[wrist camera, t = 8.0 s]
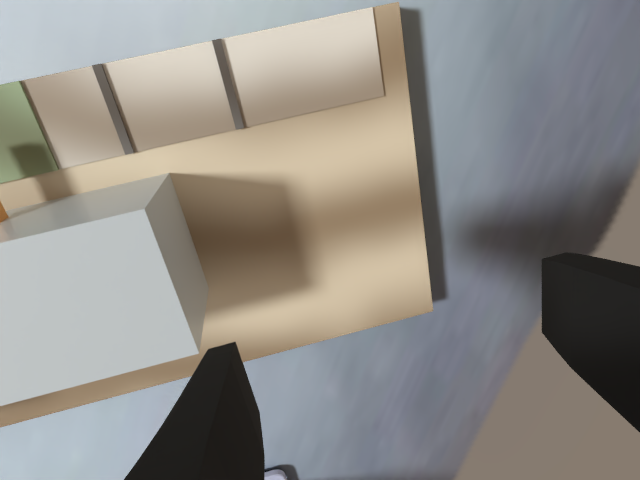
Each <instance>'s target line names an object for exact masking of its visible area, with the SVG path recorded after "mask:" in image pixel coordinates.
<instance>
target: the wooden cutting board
mask: <svg viewBox="0 0 640 480" xmlns="http://www.w3.org/2000/svg"><path fill="white" fill-rule="evenodd" d="M166 173H170V176H171V179H172V182H173V185H174V188H175V191H176V194H177V197H178V200H179V203H180V206H181V208H182V211H183V214H184V217H185V220H186V223H187V226H188V229H189V232H190V235H191V238H192V241H193V243H194V246H195V249H196V252H197V255H198V258H199V261H200V264H201V267H202V270H203V273H204V276H205V279H206V281H207V284H208V287H209V291H208V298H207V304H206V311H205V317H204V324H203V331H202V337H201V344H200V351H199V354H195V355H192V356H188V357H184V358H180V359H176V360H173V361H169V362H165V363H161V364H158V365H154V366H150V367H146V368H143V369H139V370H135V371H131V372H127V373H124V374H120V375H116V376H112V377H109V378H105V379H101V380H97V381H93V382H90V383H86V384H82V385H78V386H75V387H71V388H67V389H63V390H59V391H56V392H52V393H48V394H44V395H41V396H37V397H33V398H29V399H26V400H22V401H18V402H14V403H10V404H7V405H3V406H0V427H3V426H7V425H11V424H15V423H18V422H22V421H26V420H29V419H33V418H37V417H41V416H44V415H48V414H52V413H55V412H59V411H63V410H67V409H70V408H74V407H78V406H82V405H85V404H89V403H93V402H96V401H100V400H104V399H108V398H111V397H115V396H119V395H122V394H126V393H130V392H134V391H137V390H141V389H145V388H149V387H152V386H156V385H160V384H163V383H167V382H171V381H175V380H178V379H182V378H186V377H189V376H192V375H193V373H194V372H195V370H196V368H197V366H198V365H199V363H200V361H201V360H202V358H203V356H204V355H205V353H206V352H207V350H208V349H210V348H214V347H217V346H221V345H225V344H228V343H232V342H236V344H237V347H238V350H239V353H240V356H241V359H242V362H245V361H249V360H253V359H256V358H260V357H264V356H268V355H271V354H275V353H279V352H283V351H286V350H290V349H294V348H297V347H301V346H305V345H309V344H312V343H316V342H320V341H324V340H327V339H331V338H335V337H338V336H342V335H346V334H350V333H353V332H357V331H361V330H364V329H368V328H372V327H376V326H379V325H383V324H387V323H391V322H394V321H398V320H402V319H405V318H409V317H413V316H417V315H420V314H424V313H428V312H431V311H433V305H432V296H431V287H430V278H429V269H428V260H427V251H426V242H425V233H424V224H423V215H422V206H421V197H420V188H419V179H418V170H417V161H416V152H415V143H414V134H413V125H412V116H411V107H410V98H409V89H408V80H407V71H406V62H405V53H404V44H403V34H402V25H401V16H400V7H399V2H396V3H391V4H386V5H381V6H376V7H371V8H366V9H361V10H356V11H352V12H347V13H342V14H337V15H333V16H328V17H323V18H318V19H314V20H309V21H304V22H299V23H294V24H290V25H285V26H280V27H275V28H271V29H266V30H261V31H256V32H251V33H247V34H242V35H237V36H232V37H228V38H223V39H217V40H212V41H209V42H204V43H199V44H194V45H189V46H185V47H180V48H175V49H170V50H166V51H161V52H156V53H151V54H147V55H142V56H137V57H132V58H127V59H123V60H118V61H113V62H108V63H104V64H98V65H93V66H89V67H84V68H80V69H75V70H70V71H65V72H61V73H56V74H51V75H46V76H42V77H37V78H32V79H27V80H22V81H16V82H12V83H7V84H2V85H0V201H1V203H2V205H3V207H4V209H5V211H7V210H11V209H15V208H20V207H24V206H28V205H32V204H37V203H41V202H45V201H50V200H54V199H58V198H63V197H67V196H71V195H76V194H80V193H84V192H89V191H93V190H97V189H102V188H106V187H110V186H115V185H119V184H123V183H128V182H132V181H136V180H140V179H145V178H149V177H153V176H158V175H162V174H166Z"/></svg>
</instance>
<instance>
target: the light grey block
mask: <svg viewBox="0 0 640 480" xmlns="http://www.w3.org/2000/svg"><path fill="white" fill-rule="evenodd" d="M208 291H209V287H208V284H207V281H206V279H205V276H204V273H203V270H202V267H201V264H200V261H199V258H198V255H197V252H196V249H195V246H194V243H193V241H192V238H191V235H190V232H189V229H188V226H187V223H186V220H185V217H184V214H183V211H182V208H181V206H180V203H179V200H178V197H177V194H176V191H175V188H174V185H173V182H172V179H171V176H170V173H166V174H162V175H158V176H153V177H149V178H145V179H140V180H136V181H132V182H128V183H123V184H119V185H115V186H110V187H106V188H102V189H97V190H93V191H89V192H84V193H80V194H76V195H71V196H67V197H63V198H58V199H54V200H50V201H45V202H41V203H37V204H32V205H28V206H24V207H20V208H15V209H11V210H7V211H5V209H4V207H3V205H2V203H1V201H0V406H3V405H7V404H10V403H14V402H18V401H22V400H26V399H29V398H33V397H37V396H41V395H44V394H48V393H52V392H56V391H59V390H63V389H67V388H71V387H75V386H78V385H82V384H86V383H90V382H93V381H97V380H101V379H105V378H109V377H112V376H116V375H120V374H124V373H127V372H131V371H135V370H139V369H143V368H146V367H150V366H154V365H158V364H161V363H165V362H169V361H173V360H176V359H180V358H184V357H188V356H192V355H195V354H199V351H200V344H201V337H202V331H203V324H204V317H205V311H206V304H207V298H208Z"/></svg>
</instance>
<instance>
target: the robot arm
mask: <svg viewBox="0 0 640 480" xmlns="http://www.w3.org/2000/svg"><path fill="white" fill-rule="evenodd" d="M542 333H543V334H544V335H545V337H546V338H547V339H548V340H549V342H550V343H551V344H552V345H553V347H554V348H555V349H556V351H557V352H558V353H559V354H560V355H561V357H562V358H563V359H564V360H565V361H566V362H567V364H568V365H569V366H570V367H571V368H572V369H573V370H574V371H575V372H576V373H577V374H578V375H579V376H580V377H581V378H582V379H583V380H585V382H587V383H588V384H589V385H590V386H591V387H592V388H593V389H594V390H595V391H596V392H597V393H598V394H599V395H600V396H601V397H602V398H603V399H604V400H606V401H607V402H608V403H609V404H610V405H611V406H612V407H613V408H614V409H615V410H616V411H617V412H618V413H620V414H621V415H622V416H623V417H624V418H625V419H626V420H627V421H628V422H629V423H630V424H631V425H632V426H633V427H635V428H636V429H637V430H638V431H639V432H640V267H639V266H634V265H630V264H625V263H621V262H616V261H611V260H607V259H602V258H597V257H592V256H587V255H581V254H574V253H563V254H559V255H555V256H552V257H548V258H544V259H542ZM124 480H287V478H286V475H285V473H284V471H282V470H279V469H276V470H272V471H268V472H265V473H264V448H263V438H262V430H261V422H260V413H259V410H258V407H257V404H256V401H255V398H254V395H253V392H252V389H251V386H250V383H249V380H248V377H247V374H246V371H245V368H244V365H243V362H242V359H241V356H240V353H239V350H238V347H237V344H236V342H232V343H228V344H225V345H221V346H217V347H214V348H210V349H208V350H207V352H206V353H205V355H204V356H203V358H202V360H201V361H200V363H199V365H198V366H197V368H196V370H195V372H194V373H193V375H192V377H191V379H190V380H189V382H188V384H187V385H186V387H185V389H184V390H183V392H182V394H181V396H180V397H179V399H178V400H177V402H176V404H175V405H174V407H173V408H172V410H171V412H170V413H169V415H168V416H167V418H166V420H165V421H164V423H163V424H162V426H161V428H160V429H159V431H158V432H157V434H156V435H155V436H154V438H153V439H152V441H151V442H150V444H149V445H148V447H147V448H146V450H145V451H144V452H143V454H142V455H141V457H140V458H139V460H138V461H137V463H136V464H135V465H134V467H133V468H132V469H131V471H130V472H129V473H128V475H127V476H126V477H125V479H124Z"/></svg>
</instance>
